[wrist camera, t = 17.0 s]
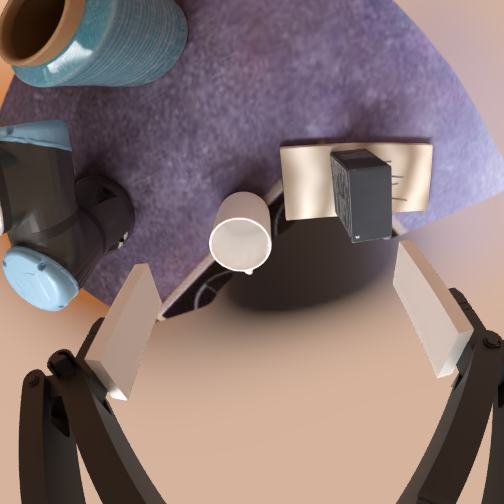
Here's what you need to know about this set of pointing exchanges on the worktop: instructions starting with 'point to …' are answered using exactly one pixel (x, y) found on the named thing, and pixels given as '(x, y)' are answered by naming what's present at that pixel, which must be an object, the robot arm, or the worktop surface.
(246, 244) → the mug
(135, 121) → the worktop surface
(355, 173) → the small box
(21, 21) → the vase
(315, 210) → the board
